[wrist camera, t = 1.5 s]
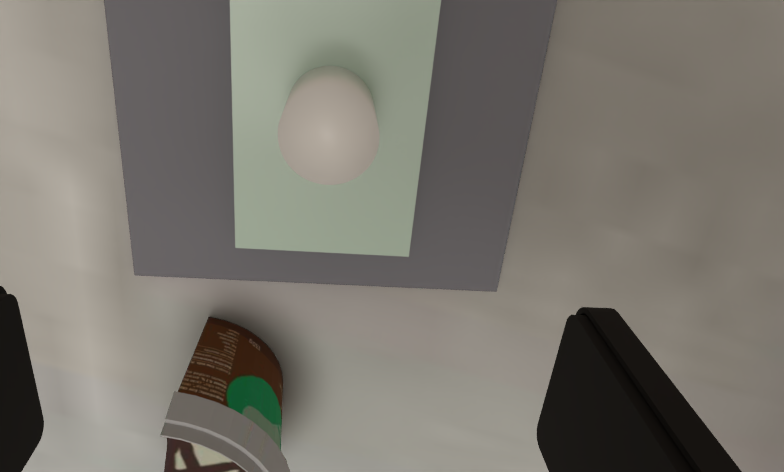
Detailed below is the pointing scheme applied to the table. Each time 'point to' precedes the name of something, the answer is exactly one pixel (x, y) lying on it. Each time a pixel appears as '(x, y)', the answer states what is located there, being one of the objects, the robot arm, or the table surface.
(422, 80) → the lid
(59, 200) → the table surface
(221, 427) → the food container
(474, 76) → the mat
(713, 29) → the table surface
